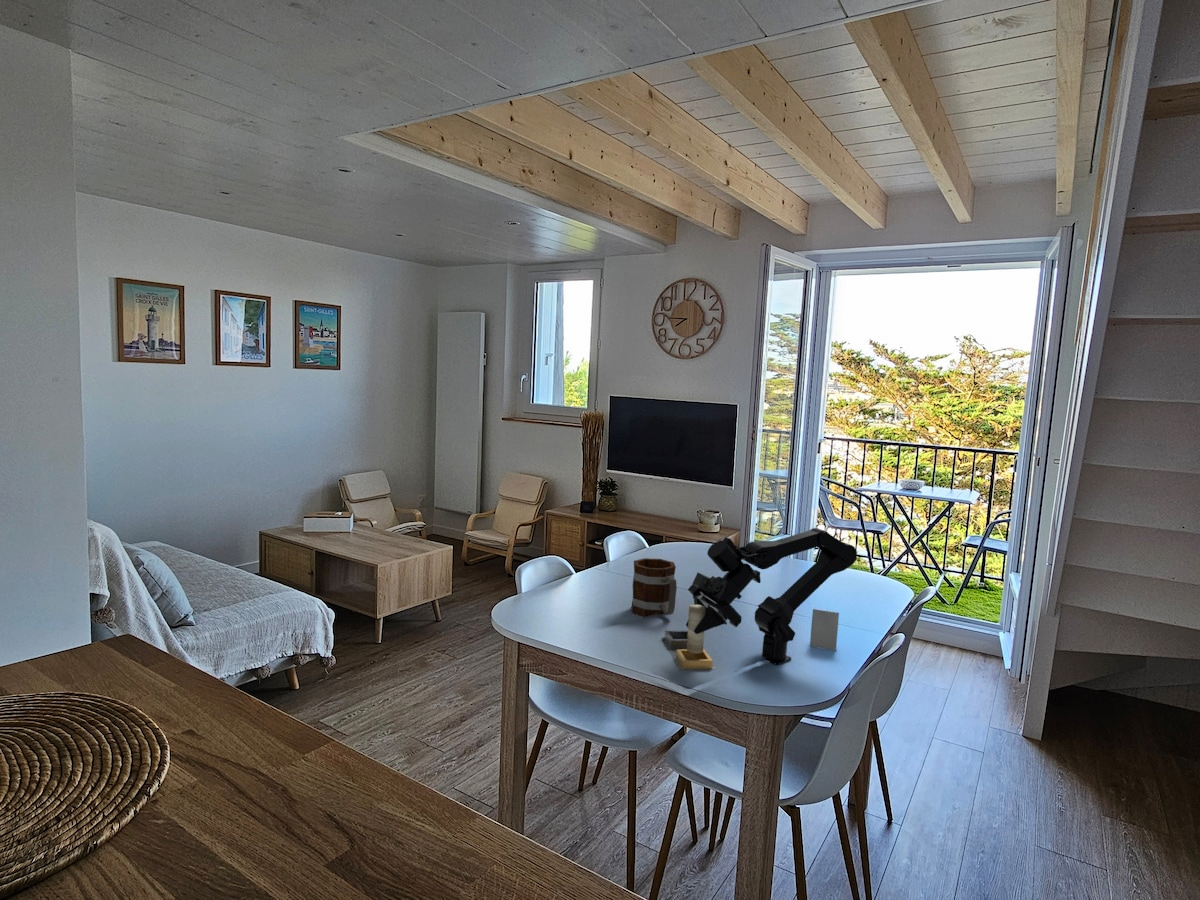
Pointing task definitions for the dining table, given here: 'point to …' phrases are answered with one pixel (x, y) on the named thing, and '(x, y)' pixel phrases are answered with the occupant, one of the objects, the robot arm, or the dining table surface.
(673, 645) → the grey socket board
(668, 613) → the mug
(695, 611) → the peg
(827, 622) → the beige rectangular block
